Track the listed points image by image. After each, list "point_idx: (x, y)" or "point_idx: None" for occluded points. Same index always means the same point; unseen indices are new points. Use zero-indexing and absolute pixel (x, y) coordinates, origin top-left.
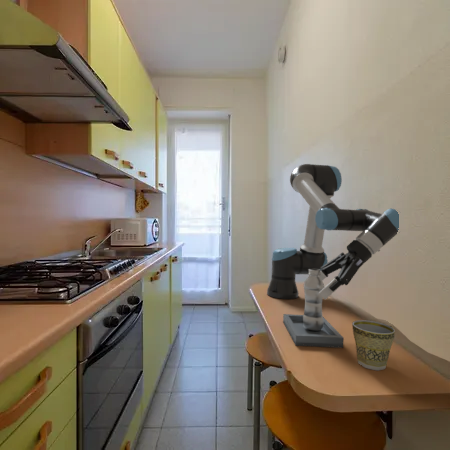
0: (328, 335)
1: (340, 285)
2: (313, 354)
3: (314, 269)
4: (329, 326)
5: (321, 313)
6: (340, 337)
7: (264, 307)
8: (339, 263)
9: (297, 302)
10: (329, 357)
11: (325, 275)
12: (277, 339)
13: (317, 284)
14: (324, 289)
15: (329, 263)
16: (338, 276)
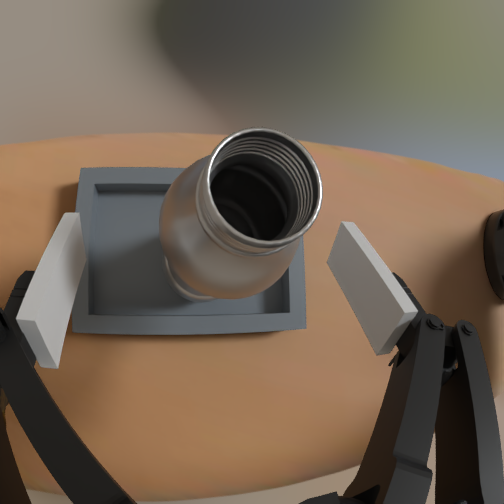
0: (84, 283)
1: (41, 363)
2: (35, 218)
3: (314, 200)
4: (179, 321)
5: (182, 285)
6: (72, 321)
7: (410, 167)
8: (318, 499)
9: (470, 288)
10: (20, 259)
11: (398, 351)
12: (132, 136)
13: (165, 223)
14: (53, 241)
15: (468, 394)
16: (6, 354)
